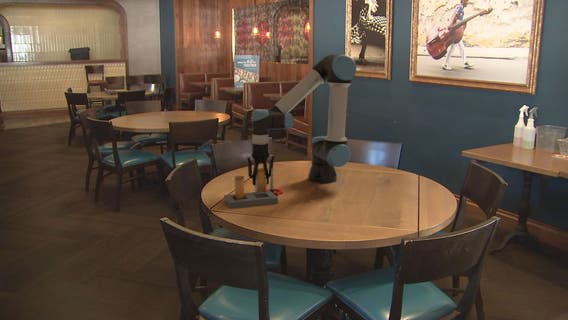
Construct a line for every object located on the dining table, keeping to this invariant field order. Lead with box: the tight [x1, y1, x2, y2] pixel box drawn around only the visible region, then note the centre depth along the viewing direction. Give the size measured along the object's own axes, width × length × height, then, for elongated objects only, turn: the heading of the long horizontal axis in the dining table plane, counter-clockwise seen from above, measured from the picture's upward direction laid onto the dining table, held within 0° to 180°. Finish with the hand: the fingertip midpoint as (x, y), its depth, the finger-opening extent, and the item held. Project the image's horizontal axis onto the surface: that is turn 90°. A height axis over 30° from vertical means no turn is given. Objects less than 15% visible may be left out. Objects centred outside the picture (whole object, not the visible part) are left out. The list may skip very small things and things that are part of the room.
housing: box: [223, 191, 279, 209], centre depth 220 cm, size 22×12×2 cm, turn 108°
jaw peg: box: [256, 167, 266, 192], centre depth 232 cm, size 4×4×12 cm
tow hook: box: [267, 167, 284, 196], centre depth 234 cm, size 8×13×9 cm
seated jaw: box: [234, 175, 245, 200], centre depth 218 cm, size 4×4×12 cm
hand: (260, 191), depth 233 cm, fingers closed on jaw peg, 4 cm apart
